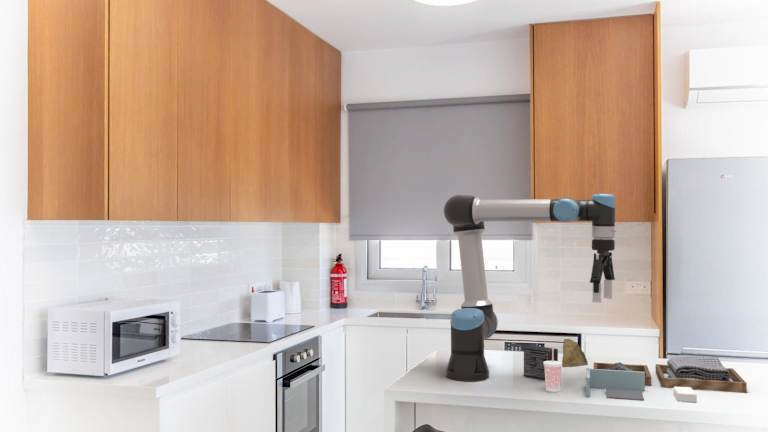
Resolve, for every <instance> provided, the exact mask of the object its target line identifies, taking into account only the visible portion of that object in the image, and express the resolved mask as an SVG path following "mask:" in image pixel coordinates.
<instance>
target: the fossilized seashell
mask: <svg viewBox="0 0 768 432" xmlns="http://www.w3.org/2000/svg"><path fill="white" fill-rule="evenodd" d="M613 364H614V366H613V367H611V368H609V369H608V370H622V371H633V370H632V369H630V368H628V367H626V366H625V365H623V364H624V363H622V362H615V363H613Z"/></svg>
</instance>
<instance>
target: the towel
mask: <svg viewBox="0 0 768 432" xmlns="http://www.w3.org/2000/svg"><path fill="white" fill-rule="evenodd" d="M666 365H668V366H669V367H670V368H668V369H667V373H668V374H667V375H668V377H669V378H681V379H697V380H714V381H730V382H733V381H732V380H731V378H730V375H729V374H730V373H729V371H728V370H727V369H726V368H727V367H725V366H723V364H722V361H721V360H720V359H719V357H717V356H714V357H713V356H712V357H708V356H707V357H700V356H699V357H697V356H695V357H693V356H673V357H671V358H669V359H668V360H667V362H666Z"/></svg>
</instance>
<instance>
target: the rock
mask: <svg viewBox="0 0 768 432" xmlns="http://www.w3.org/2000/svg"><path fill="white" fill-rule="evenodd" d="M562 351H563V352H562V361H561V362H562V368H566V367H570V368H571V367H579V366H584V365H589V363H588V359H587V357H586V354H585V352H584V351H583V350H582V349H581V346H579V343H577V342H575V341H574V340H572V339H571V338H564V340H563V345H562Z"/></svg>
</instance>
